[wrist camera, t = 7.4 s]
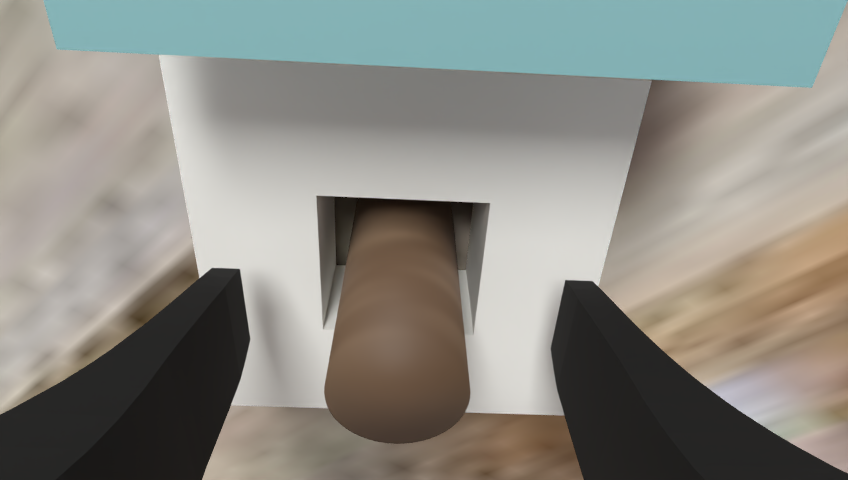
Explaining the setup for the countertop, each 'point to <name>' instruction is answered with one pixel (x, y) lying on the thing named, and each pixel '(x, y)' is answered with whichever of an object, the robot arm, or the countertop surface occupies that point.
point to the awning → (477, 34)
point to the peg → (399, 325)
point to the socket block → (400, 179)
